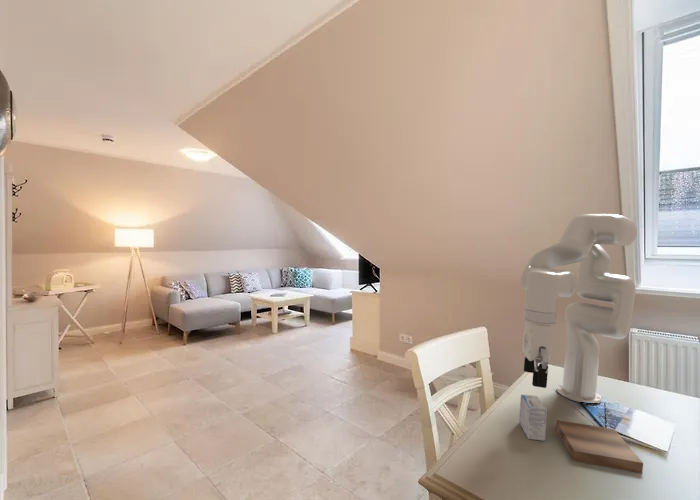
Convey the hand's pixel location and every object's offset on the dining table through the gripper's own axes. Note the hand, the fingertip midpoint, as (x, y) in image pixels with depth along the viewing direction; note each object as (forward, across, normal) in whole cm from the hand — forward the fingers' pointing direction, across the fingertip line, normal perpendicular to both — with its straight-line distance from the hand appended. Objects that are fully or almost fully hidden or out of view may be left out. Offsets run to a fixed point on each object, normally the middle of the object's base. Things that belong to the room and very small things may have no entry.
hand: (534, 379), depth 93 cm
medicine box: (+15, -1, 0) cm, 15 cm away
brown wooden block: (+15, +2, +14) cm, 21 cm away
